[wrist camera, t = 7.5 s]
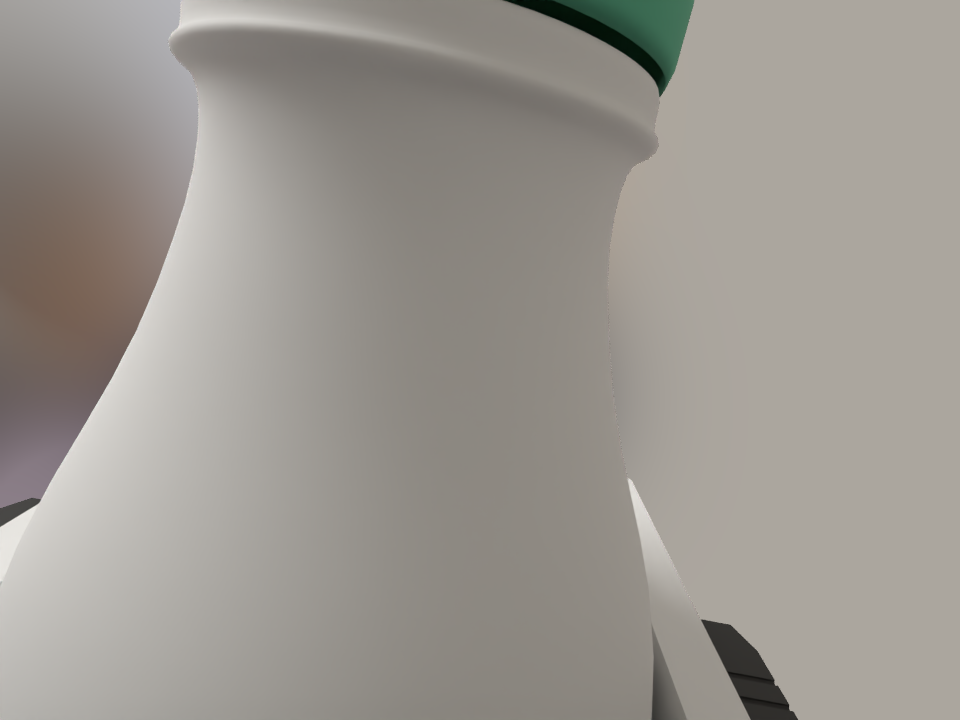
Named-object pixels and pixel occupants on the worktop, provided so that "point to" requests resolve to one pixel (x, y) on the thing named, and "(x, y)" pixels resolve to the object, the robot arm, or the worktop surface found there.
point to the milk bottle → (366, 386)
